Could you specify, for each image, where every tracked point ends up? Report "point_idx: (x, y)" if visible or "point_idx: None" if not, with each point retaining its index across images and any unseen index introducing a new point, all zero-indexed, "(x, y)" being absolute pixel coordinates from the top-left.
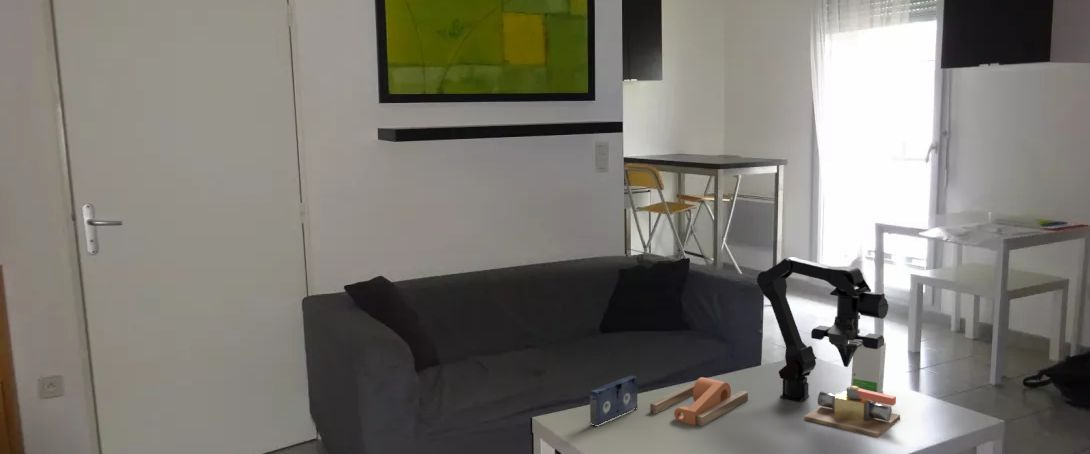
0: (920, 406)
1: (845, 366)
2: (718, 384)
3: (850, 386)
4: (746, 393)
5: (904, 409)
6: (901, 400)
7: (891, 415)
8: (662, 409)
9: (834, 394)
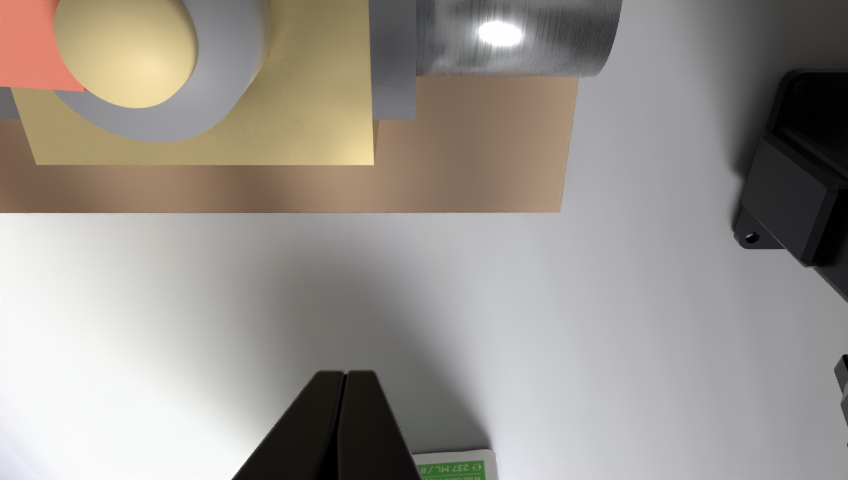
0: (59, 452)
1: (348, 373)
2: None
3: (182, 36)
4: None
5: (88, 367)
6: (193, 476)
7: (1, 162)
8: None
9: (443, 21)
